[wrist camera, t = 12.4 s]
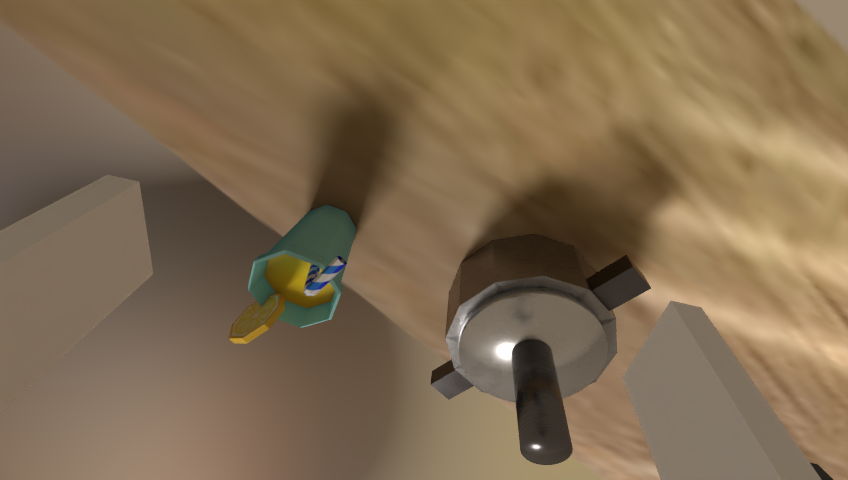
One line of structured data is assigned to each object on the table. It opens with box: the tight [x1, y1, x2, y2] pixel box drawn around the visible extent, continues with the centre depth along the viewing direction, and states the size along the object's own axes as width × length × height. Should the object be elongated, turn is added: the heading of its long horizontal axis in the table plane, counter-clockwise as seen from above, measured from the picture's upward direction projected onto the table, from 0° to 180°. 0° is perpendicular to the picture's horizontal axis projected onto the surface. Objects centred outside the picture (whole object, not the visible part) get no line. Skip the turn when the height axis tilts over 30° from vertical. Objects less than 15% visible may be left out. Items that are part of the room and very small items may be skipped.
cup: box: [229, 204, 356, 343], centre depth 37 cm, size 14×8×15 cm, turn 136°
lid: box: [459, 287, 608, 465], centre depth 36 cm, size 13×13×10 cm
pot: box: [431, 234, 651, 399], centre depth 43 cm, size 23×15×7 cm
